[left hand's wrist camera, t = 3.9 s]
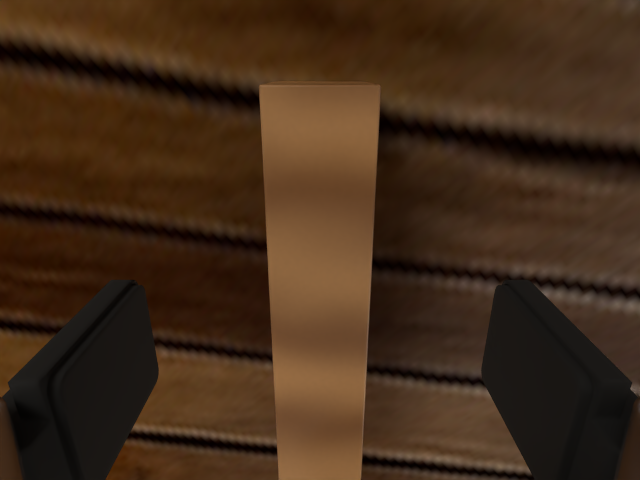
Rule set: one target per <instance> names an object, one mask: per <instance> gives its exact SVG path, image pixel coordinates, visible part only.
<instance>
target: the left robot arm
mask: <svg viewBox="0 0 640 480" xmlns="http://www.w3.org/2000/svg"><path fill="white" fill-rule="evenodd" d="M158 371H159V370H158V363H157V357H156V351H155V346H154V340H153V334H152V328H151V323H150V317H149V311H148V305H147V300H146V294H145V289H144V287H143V286H142V285H138V284H137V282H136V281H135V280H111V281H110V282H109V283H108V284H107V285H106V286H105V287H104V288H103V289H102V290H101V291H99V292H98V293H97V294H96V295H95V296H94V297H93V298H92V299H91V300H90V301H89V302H88V303H87V304H86V305H85V306H84V307H83V308H82V309H81V310H80V311H79V312H78V313H77V314H76V315H75V316H74V317H73V318H72V319H71V320H70V321H69V322H68V323H67V324H66V325H65V326H64V327H63V328H62V329H61V330H60V331H59V332H58V333H57V334H56V335H55V336H54V337H53V338H52V339H51V340H50V341H49V342H48V343H47V344H46V345H45V346H44V347H43V348H42V349H41V350H40V351H39V352H38V353H37V354H36V355H35V356H34V357H33V358H32V359H31V360H30V361H29V362H28V363H27V364H26V365H25V366H24V367H23V368H22V369H21V370H20V371H19V372H18V373H17V374H16V375H15V376H14V377H13V378H12V379H11V380H10V381H9V382H8V384H9V387H10V390H9V391H8V392H7V393H6V394H5V395H4V396H3V397H2V398H1V397H0V480H105V479H106V477H107V475H108V473H109V471H110V469H111V467H112V466H113V464H114V462H115V460H116V458H117V456H118V454H119V452H120V450H121V448H122V447H123V445H124V443H125V441H126V439H127V437H128V435H129V433H130V431H131V430H132V428H133V426H134V424H135V422H136V420H137V418H138V416H139V414H140V412H141V411H142V409H143V407H144V405H145V403H146V401H147V399H148V397H149V395H150V394H151V392H152V390H153V388H154V386H155V384H156V382H157V379H158ZM481 371H482V379H483V382H484V384H485V386H486V388H487V390H488V392H489V394H490V395H491V397H492V399H493V401H494V403H495V405H496V407H497V409H498V411H499V412H500V414H501V416H502V418H503V420H504V422H505V424H506V426H507V428H508V430H509V431H510V433H511V435H512V437H513V439H514V441H515V443H516V445H517V447H518V448H519V450H520V452H521V454H522V456H523V458H524V460H525V462H526V464H527V466H528V467H529V469H530V471H531V473H532V475H533V477H534V479H535V480H640V397H639V398H638V397H637V396H636V395H635V394H634V393H633V392H632V391H631V390H630V387H631V384H632V382H631V381H630V380H629V379H628V378H627V377H626V376H625V375H624V374H623V373H622V372H621V371H620V370H619V369H618V368H617V367H616V366H615V365H614V364H613V363H612V362H611V361H610V360H609V359H608V358H607V357H606V356H605V355H604V354H603V353H602V352H601V351H600V350H599V349H598V348H597V347H596V346H595V345H594V344H593V343H592V342H591V341H590V340H589V339H588V338H587V337H586V336H585V335H584V334H583V333H582V332H581V331H580V330H579V329H578V328H577V327H576V326H575V325H574V324H573V323H572V322H571V321H570V320H569V319H568V318H567V317H566V316H565V315H564V314H563V313H562V312H561V311H560V310H559V309H558V308H557V307H556V306H555V305H554V304H553V303H552V302H551V301H550V300H549V299H548V298H547V297H546V296H545V295H544V294H543V293H542V292H541V291H539V290H538V289H537V288H536V287H535V286H534V285H533V284H532V283H531V282H530V281H529V280H505V281H504V282H503V284H502V285H498V286H497V287H496V289H495V294H494V300H493V305H492V311H491V317H490V323H489V328H488V334H487V340H486V346H485V351H484V357H483V363H482V370H481Z"/></svg>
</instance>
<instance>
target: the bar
mask: <svg viewBox="0 0 640 480" xmlns="http://www.w3.org/2000/svg"><path fill="white" fill-rule="evenodd" d="M380 95H381V86H380V85H378V84H374V83H369V82H364V81H276V82H271V83H266V84H261V85H260V86H259V96H260V116H261V135H262V155H263V175H264V195H265V215H266V235H267V254H268V274H269V294H270V314H271V334H272V353H273V373H274V393H275V413H276V433H277V453H278V472H279V480H361V472H362V452H363V432H364V412H365V392H366V372H367V353H368V333H369V313H370V293H371V273H372V253H373V234H374V214H375V194H376V174H377V154H378V134H379V115H380Z"/></svg>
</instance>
